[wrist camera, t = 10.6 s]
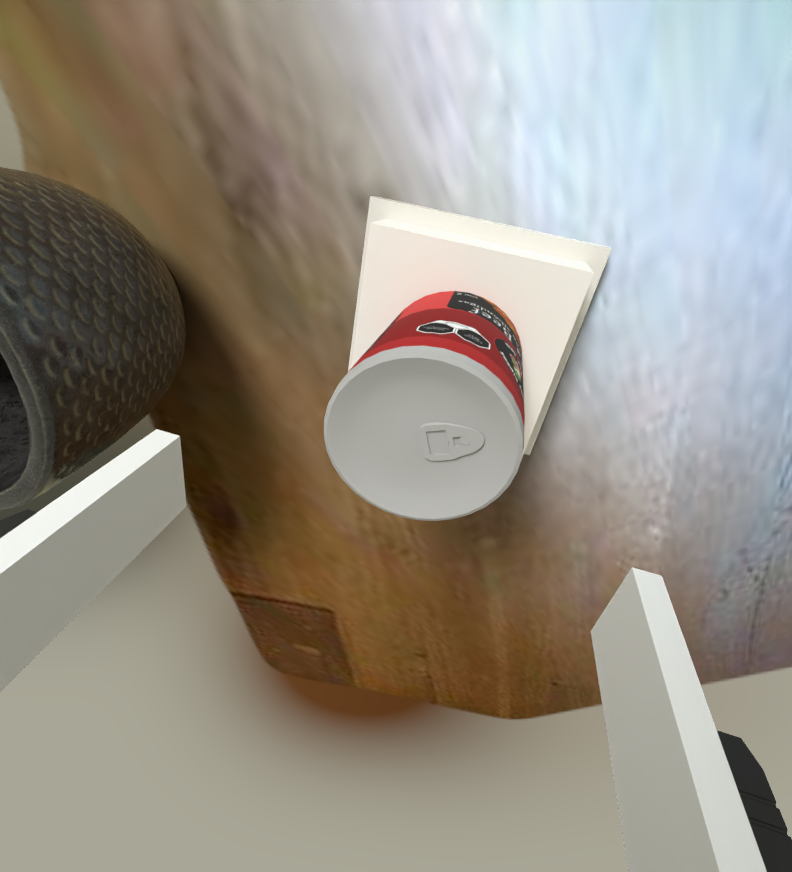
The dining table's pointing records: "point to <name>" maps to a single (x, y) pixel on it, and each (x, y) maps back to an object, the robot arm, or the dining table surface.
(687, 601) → the dining table surface
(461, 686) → the dining table surface
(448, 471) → the canned food
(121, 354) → the planter
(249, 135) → the dining table surface
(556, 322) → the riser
